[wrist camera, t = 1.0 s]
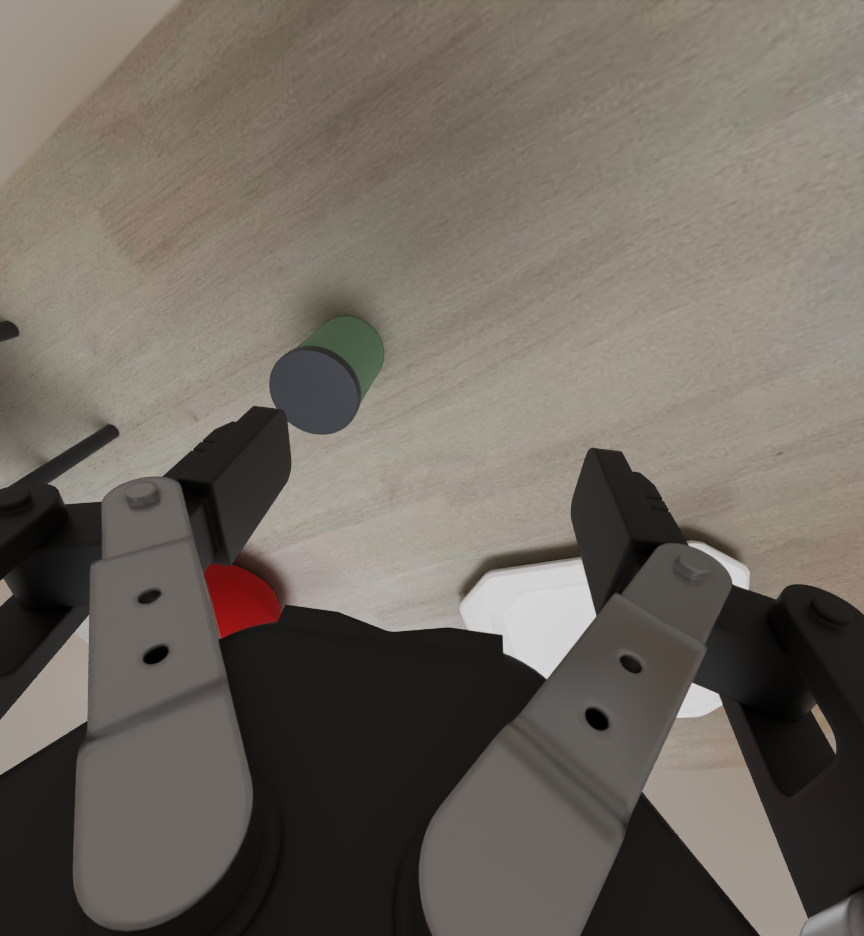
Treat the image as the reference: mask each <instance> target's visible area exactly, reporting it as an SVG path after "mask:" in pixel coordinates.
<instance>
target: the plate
mask: <svg viewBox="0 0 864 936" xmlns="http://www.w3.org/2000/svg"><path fill="white" fill-rule="evenodd" d="M686 542H687V543H688V545H689V546H691V547H694V548H697V549H699V550H701V551H703V552H705V553H707V554H709V555H710V556H712V557H713V558H715V559H716V560H717V561H719V562H720V563H721V564H722V565H723V566H724V567H725V568H726V570H727V571H728V572H729V574H730V576H731V579H732V584H733V585H735V586H738V587H741V588H744V589H746V590H749V579H750V572H749V570H748V568H747V567H746V565H745V564H743V563H741V562H739V561H737V560H735V559H734V558H732V557H730V556H728V555H726V554H724V553H722V552H720V551H718V550H716V549H715V548H713V547H711V546H709V545H707V544H705V543H703V542H701V541H693V540H690V541H686ZM459 609H460V612H461V614H462V617H463V619H464V622H465V624H466V627H467V629H468V630H470V631H477V632H485V633H492V634H499V635H503V653H505V654H507V655H510V656H512V657H514V658H516V659H518V660H520V661H522V662H524V663H525V664H527V665H528V666H530V667H532V668H533V669H535V670H536V671H537V672H539V673H540V674H541V675H542V676H544V677H545V678H546V679H548V677H549V676H550V675H551V673H552V672H553V671H554V670H555V668H556V667H557V666H558V665H559V663H560V662H561V661H562V659H563V658H564V657H565V656H566V654H567V653H568V652H569V651H570V649H571V648H572V647H573V645H574V644H575V643H576V642H577V640H578V639H579V638H580V637H581V635H582V634H583V633H584V631H585V630H586V629H587V628H588V626H589V625H590V624H591V623H592V621H593V620H594V619H595V617H596V613H595V609H594V605H593V601H592V597H591V593H590V590H589V586H588V582H587V578H586V574H585V570H584V566H583V563H582V559H581V557H576V558H569V559H562V560H556V561H549V562H542V563H535V564H529V565H522V566H515V567H508V568H502V569H495V570H491V571H489V572H487V573H485V574H484V575H483V576H482V578H481V579H480V580H479V581H478V582H477V583H476V585H475V586H474V587H473V588H472V589H471V590H470V592H469V593H468V594H467V595H466V596H465V597H464V599H463V600H462V601H461V602H460V608H459ZM722 705H723V704H722V701H721V699H720V696H719V694H718V693H715V692H713V691H711V690H708V689H706V688H703V687H701V686H699V685H696V684H694V683H692V684H691V686H690V688H689V690H688V693H687V695H686V697H685V699H684V701H683V703H682V706H681V708H680V710H679V712H678V714H677V716H676V718H685V717H699V716H703V715H706V714H708V713H709V712H711V711H713V710H715V709H716V708H718V707H720V706H722Z"/></svg>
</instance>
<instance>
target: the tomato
mask: <svg viewBox="0 0 864 936" xmlns="http://www.w3.org/2000/svg"><path fill="white" fill-rule="evenodd" d="M204 573H205V577H206V581H207V585H208V589H209V593H210V597H211V601H212V605H213V609H214V613H215V617H216V621H217V625H218V629H219V633H220V637H221V638H223V637H225V636H227V635H229V634H232V633H234V632H237V631H239V630H242V629H245V628H248V627H252V626H255V625H259V624H265V623H270V622H277V621H278V619H279V617H280V615H281V608H280V605H279V603H278V600H277V598H276V596H275V593H274V591H273V590H272V589H271V588H270V586H269V585H268V584H267V583H266V582H265V581H264V580H262V579H261V578H259V577H258V576H256V575H255V574H253V573H251V572H249V571H247V570H245V569H242V568H240V567H238V566H236V565H231V566H223V565H216V564H210V565H209V566H208V568H207V569H206V570H205V572H204Z"/></svg>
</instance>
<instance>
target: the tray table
mask: <svg viewBox="0 0 864 936" xmlns="http://www.w3.org/2000/svg"><path fill="white" fill-rule="evenodd" d="M17 336H18V329H17V328H16V326H15V325H14V324H12V323H10V322H7V321H5V322H1V323H0V342H2V341H5V340H8V339H11V338H14V337H17ZM118 435H119V432H118V430H117V429H116V428H115V427H114V426H111V425H107V426H105V427H103V428H102V429H100V430H99V431H97V432H95V433H94V434H92V435H91V436H89V437H87V438H86V439H84V440H83V441H81V442H79V443H78V444H76V445H75V446H73V447H71V448H70V449H68V450H67V451H65V452H63V453H62V454H60V455H59V456H57V457H55V458H54V459H52V460H50V461H49V462H47V463H46V464H44V465H42V466H41V467H39V468H38V469H36V470H34V471H33V472H31V473H30V474H28V475H26V476H25V477H23V478H22V479H20V480H18V481H17V482H15V483H14V484H12V485H10V486H15V485H20V484H27V483H44V484H48V483H50V482H51V481H52V480H54V479H55V478H57V477H58V476H60V475H61V474H63V473H64V472H66V471H67V470H69V469H70V468H72V467H73V466H75V465H76V464H78V463H79V462H81V461H82V460H84V459H85V458H87V457H88V456H90V455H91V454H93V453H94V452H96V451H97V450H99V449H100V448H102V447H103V446H105V445H106V444H108V443H109V442H111V441H112V440H113V439H115V438H116V437H118ZM10 486H9V487H10Z"/></svg>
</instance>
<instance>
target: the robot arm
mask: <svg viewBox="0 0 864 936" xmlns="http://www.w3.org/2000/svg"><path fill="white" fill-rule="evenodd" d="M290 471H291V452H290V442H289V433H288V423H287V416H286V413H285V411H284V410H282V409H275V408H267V407H259V406H253V407H252V408H251V409H250V410H249V411H247V412H246V413H245V414H244V415H243V416H242V417H241V418H240V419H239V420H238V421H237V422H230V423H228V424H226V425H224V426H222V427H219V428H217V429H215V430H214V431H213V432H212V433H210V434H209V435H208V436H207V437H206V438H205V439H204V440H203V442H200V443H199V444H198V445H197V446H196V447H195V448H194V451H190V452H189V453H188V454H187V455H186V456H185V457H184V458H183V459H182V460H180V461H179V462H178V463H177V464H176V465H175V466H174V467H173V468H172V469H170V470H169V471H168V472H167V473H166V474H165V475H164V476H163V477H144V478H139V479H135V480H132V481H128V482H126V483H123V484H121V485H119V486H117V487H116V488H114V489H113V490H111V491H110V492H109V493H108V494H107V495H106V496H105V497H104V499H103V501H102V502H92V503H79V504H64V502H63V500H62V498H61V495H60V493H59V491H58V489H57V488H56V487H54V486H52V485H49V484H44V483H27V484H20V485H15V486H10V487H7V488H3V489H0V580H2V579H3V578H4V580H5V582H6V583H7V585H8V587H9V588H10V590H11V591H12V593H13V595H12V596H11V597H10V598H9V599H8V600H7V601H6V602H5V603H4V604H3V605H2V606H1V607H0V719H1V718H2V717H3V716H4V715H5V713H6V712H7V711H8V710H9V709H10V707H11V706H12V705H13V704H14V703H15V702H16V700H17V699H18V698H19V697H20V696H21V695H22V693H23V692H24V691H25V690H26V689H27V687H28V686H29V685H30V684H31V683H32V681H33V680H34V679H35V678H36V677H37V676H38V674H39V673H40V672H41V671H42V670H43V668H44V667H45V666H46V665H47V664H48V663H49V661H50V660H51V659H52V658H53V656H54V655H55V654H56V653H57V652H58V650H59V649H60V648H61V647H62V646H63V645H64V644H65V642H66V641H67V640H68V639H69V638H70V636H71V635H72V634H73V633H74V632H75V631H76V629H77V628H78V627H79V626H80V625H81V623H82V622H83V621H84V620H85V619H86V618H87V616H88V615H89V667H88V721H86V722H85V723H83V724H82V725H80V726H78V727H77V728H75V729H74V730H72V731H70V732H69V733H68V734H66V735H64V736H63V737H61V738H59V739H58V740H56V741H55V742H53V743H51V744H50V745H48V746H46V747H45V748H43V749H42V750H40V751H38V752H37V753H35V754H33V755H32V756H30V757H29V758H27V759H26V760H24V761H22V762H21V763H19V764H17V765H16V766H14V767H13V768H11V769H9V770H8V771H6V772H5V773H3V774H1V775H0V936H760V935H759V934H758V933H757V931H756V930H755V929H754V928H753V927H752V925H751V924H750V923H749V922H748V920H747V919H746V918H745V917H744V916H743V914H742V913H741V912H740V911H739V909H738V908H737V907H736V906H735V905H734V903H732V901H731V900H730V899H729V897H728V896H727V895H726V894H725V892H724V891H723V890H722V889H721V888H720V886H719V885H718V884H717V883H716V881H715V880H714V879H713V878H712V877H711V875H710V874H709V873H708V872H707V870H706V869H705V868H704V867H703V866H702V864H701V863H700V862H699V861H698V860H697V858H696V857H695V856H694V855H693V853H692V852H691V851H690V850H689V849H688V847H687V846H686V845H685V844H684V842H683V841H682V840H681V839H680V838H679V836H678V835H677V834H676V833H675V832H674V830H673V829H672V828H671V827H670V826H669V824H668V823H667V822H666V820H665V819H664V818H663V817H662V816H661V814H660V813H659V812H658V811H657V809H656V808H655V807H654V806H653V805H652V804H651V802H650V801H649V800H648V799H647V798H646V796H645V795H644V794H643V792H642V790H643V788H644V786H645V784H646V782H647V779H648V777H649V775H650V773H651V770H652V769H653V766H654V764H655V762H656V760H657V758H658V755H659V753H660V751H661V749H662V747H663V745H664V742H665V740H666V738H667V736H668V734H669V732H670V729H671V727H672V725H673V723H674V721H675V719H676V716H677V714H678V712H679V710H680V708H681V706H682V703H683V701H684V699H685V697H686V695H687V693H688V690H689V688H690V686H691V684H692V683H694V684H696V685H699V686H701V687H703V688H706V689H708V690H711V691H713V692H715V693H718V694H719V696H720V699H721V701H722V704H723V706H724V709H725V711H726V714H727V716H728V719H729V721H730V724H731V726H732V729H733V731H734V734H735V736H736V739H737V741H738V744H739V746H740V749H741V751H742V754H743V756H744V759H745V761H746V764H747V766H748V769H749V771H750V773H751V776H752V779H753V782H754V784H755V786H756V789H757V792H758V794H759V797H760V799H761V802H762V804H763V806H764V809H765V812H766V814H767V816H768V819H769V822H770V824H771V827H772V829H773V832H774V834H775V837H776V839H777V841H778V844H779V847H780V849H781V852H782V854H783V857H784V859H785V862H786V864H787V866H788V869H789V872H790V874H791V877H792V879H793V882H794V884H795V887H796V889H797V892H798V894H799V897H800V899H801V902H802V904H803V907H804V909H805V912H806V914H807V917H808V920H807V921H806V922H805V923H804V925H803V927H802V928H801V932H800V936H864V615H863V614H862V613H861V612H860V611H859V610H857V609H856V608H855V607H854V606H852V605H851V604H849V603H848V602H846V601H845V600H843V599H841V598H840V597H838V596H836V595H834V594H832V593H830V592H827V591H825V590H822V589H819V588H816V587H813V586H808V585H801V584H794V585H790V586H787V587H786V588H785V589H784V590H783V591H782V592H781V594H780V595H779V597H778V598H777V599H773V598H770V597H767V596H764V595H761V594H758V593H755V592H752V591H749V590H746V589H744V588H741V587H738V586H735V585H733V584H732V579H731V576H730V574H729V572H728V571H727V570H726V568H725V567H724V566H723V565H722V564H721V563H720V562H719V561H717V560H716V559H715V558H713V557H712V556H710V555H709V554H707V553H705V552H703V551H701V550H699V549H697V548H694V547H691V546H689V545H688V543H687V542H686V540H685V538H684V536H683V535H682V533H681V531H680V529H679V527H678V526H677V524H676V522H675V520H674V519H673V517H672V515H671V513H670V512H668V508H667V506H666V505H665V503H664V501H662V497H661V496H660V494H659V492H658V490H657V489H656V487H655V485H654V484H653V483H651V482H650V481H649V480H648V479H647V478H645V477H644V476H643V475H642V474H641V473H639V472H632V470H631V468H630V466H629V464H628V463H627V461H626V459H625V457H624V455H623V453H622V452H621V451H614V450H606V449H598V448H590V449H589V450H588V452H587V454H586V457H585V460H584V463H583V466H582V469H581V473H580V476H579V479H578V482H577V485H576V488H575V492H574V495H573V498H572V504H571V520H572V524H573V528H574V532H575V535H576V539H577V543H578V547H579V551H580V555H581V559H582V563H583V566H584V570H585V574H586V578H587V582H588V586H589V590H590V593H591V597H592V601H593V605H594V609H595V613H596V617H595V619H594V620H593V621H592V623H591V624H590V625H589V626H588V628H587V629H586V630H585V631H584V633H583V634H582V635H581V637H580V638H579V639H578V640H577V642H576V643H575V644H574V645H573V647H572V648H571V649H570V651H569V652H568V653H567V654H566V656H565V657H564V658H563V659H562V661H561V662H560V663H559V665H558V666H557V667H556V668H555V670H554V671H553V672H552V673H551V675H550V676H549V677H548V679H546V678H545V677H544V676H542V675H541V674H540V673H539V672H537V671H536V670H535V669H533V668H532V667H530V666H528V665H527V664H525V663H524V662H522V661H520V660H518V659H516V658H514V657H512V656H510V655H507V654H505V653H503V635H499V634H492V633H485V632H477V631H470V630H463V629H456V628H449V627H448V628H436V629H424V630H412V631H400V632H390V631H386V630H383V629H380V628H378V627H375V626H373V625H370V624H368V623H365V622H362V621H360V620H357V619H355V618H352V617H350V616H347V615H344V614H342V613H339V612H334V611H327V610H320V609H313V608H306V607H298V606H291V605H285V607H284V609H283V611H282V613H281V615H280V617H279V619H278V621H277V622H270V623H265V624H259V625H255V626H252V627H248V628H245V629H242V630H239V631H237V632H234V633H232V634H229V635H227V636H225V637H223V638H221V637H220V633H219V629H218V625H217V621H216V617H215V613H214V609H213V605H212V601H211V597H210V593H209V589H208V585H207V581H206V577H205V573H204V572H205V570H206V569H207V568H208V566H209V565H210V564H216V565H223V566H231V565H232V563H233V562H234V560H235V559H236V557H237V556H238V554H239V553H240V551H241V550H242V548H243V547H244V545H245V544H246V542H247V541H248V539H249V538H250V536H251V535H252V533H253V532H254V531H255V529H256V528H257V526H258V525H259V523H260V522H261V520H262V519H263V517H264V516H265V514H266V513H267V511H268V510H269V508H270V507H271V505H272V504H273V502H274V501H275V499H276V498H277V496H278V495H279V493H280V492H281V490H282V489H283V487H284V486H285V484H286V483H287V481H288V479H289V475H290ZM816 704H818V706H819V708H820V710H821V711H822V713H823V715H824V716H825V718H826V720H827V722H828V723H829V725H830V727H831V729H832V731H833V733H834V736H835V740H836V755H835V753H834V751H833V749H832V747H831V746H830V744H829V742H828V740H827V739H826V737H825V735H824V733H823V731H822V730H821V728H820V726H819V724H818V723H817V721H816V719H815V717H814V715H813V714H812V712H811V709H812V708H813V707H814V706H815V705H816Z"/></svg>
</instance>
